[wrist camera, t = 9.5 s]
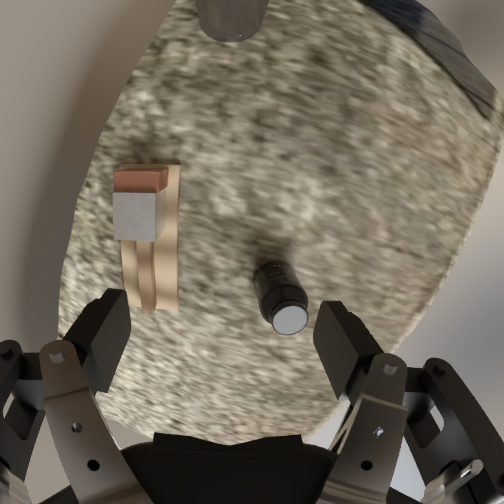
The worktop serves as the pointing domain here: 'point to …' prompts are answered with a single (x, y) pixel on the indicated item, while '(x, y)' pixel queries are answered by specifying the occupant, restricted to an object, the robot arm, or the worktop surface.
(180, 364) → the worktop surface
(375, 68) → the worktop surface
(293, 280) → the supplement bottle
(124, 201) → the block
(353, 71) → the worktop surface
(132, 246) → the rail
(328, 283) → the worktop surface
